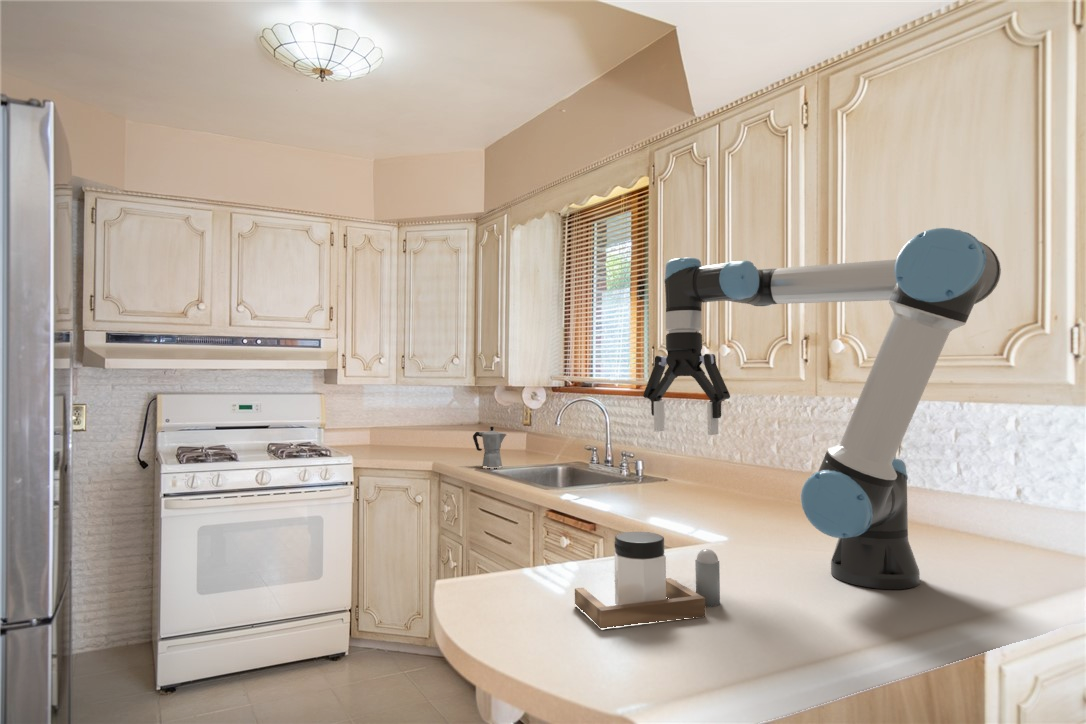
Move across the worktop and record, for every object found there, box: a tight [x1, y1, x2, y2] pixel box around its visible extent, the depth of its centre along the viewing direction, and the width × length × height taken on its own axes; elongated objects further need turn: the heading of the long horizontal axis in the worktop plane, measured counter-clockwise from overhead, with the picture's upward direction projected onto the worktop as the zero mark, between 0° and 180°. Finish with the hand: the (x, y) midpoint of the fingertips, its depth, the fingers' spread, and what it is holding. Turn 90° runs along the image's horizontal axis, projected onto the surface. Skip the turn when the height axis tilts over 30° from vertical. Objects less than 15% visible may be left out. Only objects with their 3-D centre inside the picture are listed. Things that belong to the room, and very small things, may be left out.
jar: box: [614, 531, 667, 605], centre depth 111 cm, size 9×8×12 cm
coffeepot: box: [472, 426, 507, 467], centre depth 292 cm, size 15×9×18 cm, turn 75°
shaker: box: [694, 548, 721, 607], centre depth 114 cm, size 4×4×9 cm
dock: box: [574, 577, 706, 628], centre depth 110 cm, size 12×18×3 cm, turn 108°
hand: (685, 432), depth 141 cm, fingers open, 13 cm apart
